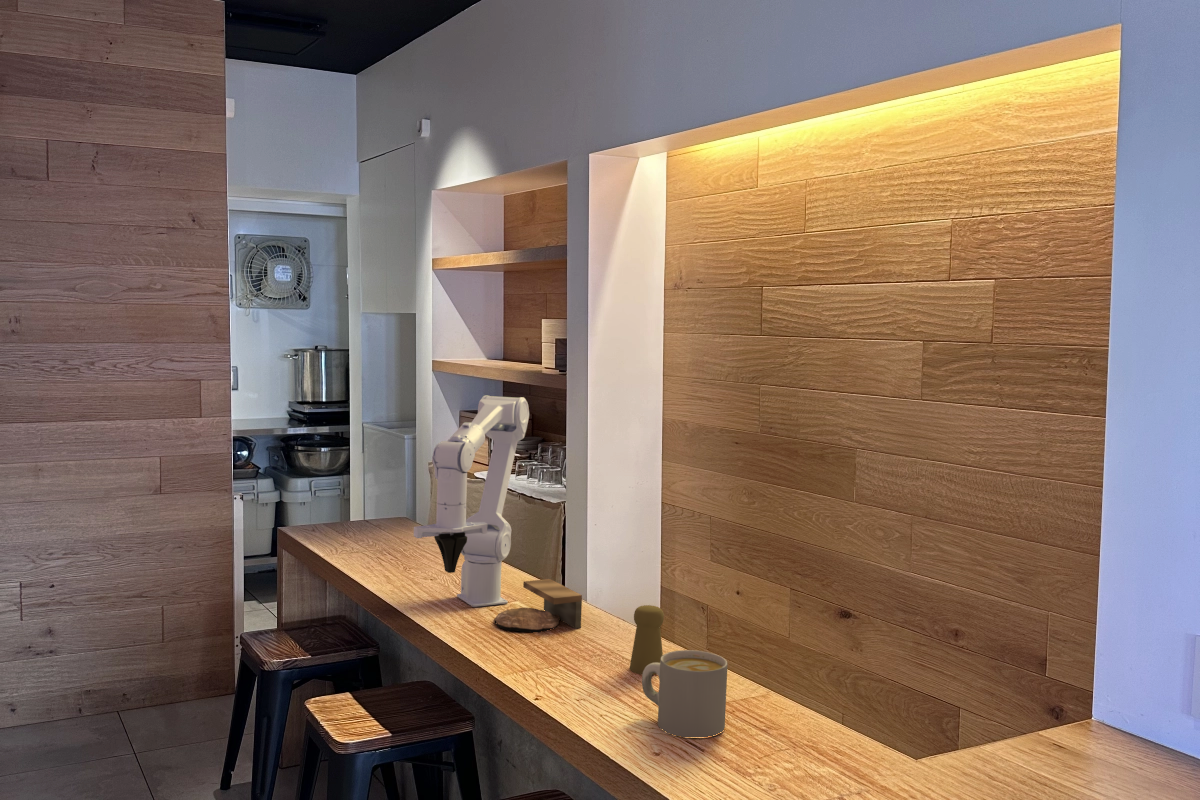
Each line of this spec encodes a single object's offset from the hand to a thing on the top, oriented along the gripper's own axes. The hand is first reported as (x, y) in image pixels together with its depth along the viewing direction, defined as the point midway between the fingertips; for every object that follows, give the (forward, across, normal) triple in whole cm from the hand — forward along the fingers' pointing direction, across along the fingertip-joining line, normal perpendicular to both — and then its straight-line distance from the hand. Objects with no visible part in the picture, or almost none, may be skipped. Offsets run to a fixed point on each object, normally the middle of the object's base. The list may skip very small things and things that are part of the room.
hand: (449, 571), depth 204 cm
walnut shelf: (+10, +19, -7) cm, 23 cm away
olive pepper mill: (+10, +21, -40) cm, 46 cm away
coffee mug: (+10, +13, -63) cm, 65 cm away
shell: (+11, +13, -8) cm, 19 cm away
